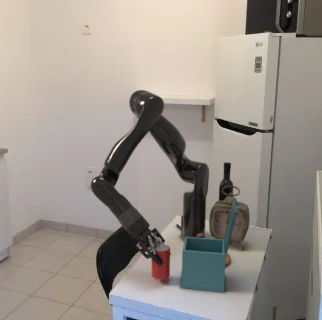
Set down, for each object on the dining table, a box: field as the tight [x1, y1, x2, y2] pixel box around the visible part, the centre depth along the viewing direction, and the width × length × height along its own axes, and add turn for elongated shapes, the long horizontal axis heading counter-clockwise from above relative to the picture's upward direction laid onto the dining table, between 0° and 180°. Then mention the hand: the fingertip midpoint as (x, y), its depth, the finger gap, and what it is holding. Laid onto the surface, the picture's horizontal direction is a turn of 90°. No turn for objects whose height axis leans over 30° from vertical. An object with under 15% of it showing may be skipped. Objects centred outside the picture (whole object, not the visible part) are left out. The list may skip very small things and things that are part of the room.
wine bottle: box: [218, 161, 234, 201], centre depth 189 cm, size 6×6×30 cm
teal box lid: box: [224, 199, 237, 254], centre depth 143 cm, size 14×12×1 cm
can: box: [151, 243, 171, 280], centre depth 148 cm, size 6×6×10 cm
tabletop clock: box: [208, 185, 251, 250], centre depth 174 cm, size 14×9×25 cm, turn 65°
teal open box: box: [181, 237, 227, 293], centre depth 148 cm, size 14×12×13 cm
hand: (165, 260), depth 147 cm, fingers closed on can, 6 cm apart
